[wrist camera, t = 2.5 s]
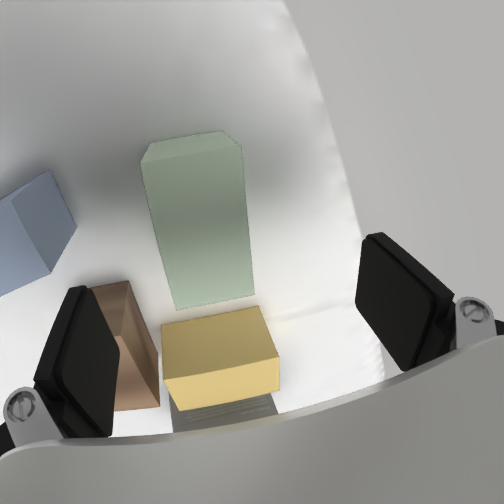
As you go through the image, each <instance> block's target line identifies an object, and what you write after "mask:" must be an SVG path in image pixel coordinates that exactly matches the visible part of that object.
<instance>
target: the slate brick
mask: <svg viewBox="0 0 504 504" xmlns="http://www.w3.org/2000/svg"><path fill="white" fill-rule="evenodd" d="M76 228H77V226H76V224H75V222H74V220H73V218H72V216H71V214H70V212H69V210H68V208H67V206H66V204H65V201H64V199H63V197H62V195H61V193H60V191H59V188H58V186H57V184H56V182H55V180H54V177H53V175H52V173H51V170H49V171H47V172H45V173H43V174H42V175H40V176H38V177H36V178H35V179H33V180H31V181H30V182H28V183H26V184H25V185H23V186H22V187H20V188H18V189H17V190H15V191H14V192H12V193H10V194H9V195H7V196H6V197H4V198H3V199H1V200H0V297H1V296H3V295H5V294H7V293H9V292H11V291H13V290H15V289H18V288H20V287H22V286H24V285H26V284H28V283H31V282H33V281H35V280H37V279H39V278H42V277H44V276H46V275H48V274H51V272H52V270H53V268H54V267H55V265H56V263H57V261H58V259H59V257H60V256H61V254H62V252H63V250H64V249H65V247H66V245H67V243H68V242H69V240H70V238H71V237H72V235H73V233H74V232H75V230H76Z"/></svg>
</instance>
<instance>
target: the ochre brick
mask: <svg viewBox="0 0 504 504" xmlns="http://www.w3.org/2000/svg"><path fill="white" fill-rule="evenodd" d="M161 332H162V367H163V381H164V383H165V385H166V387H167V389H168V391H169V392H170V394H171V396H172V398H173V400H174V402H175V404H176V406H177V407H178V409H179V411H183V410H189V409H196V408H202V407H207V406H213V405H218V404H223V403H228V402H233V401H238V400H242V399H247V398H251V397H255V396H260V395H264V394H268V393H272V392H276V391H279V390H280V374H279V355H278V353H277V350H276V348H275V345H274V343H273V340H272V338H271V336H270V333H269V331H268V328H267V326H266V323H265V321H264V318H263V316H262V313H261V311H260V308H259V306H255V307H251V308H246V309H241V310H237V311H232V312H227V313H222V314H217V315H212V316H207V317H202V318H197V319H191V320H186V321H181V322H175V323H169V324H164V325H161Z"/></svg>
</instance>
